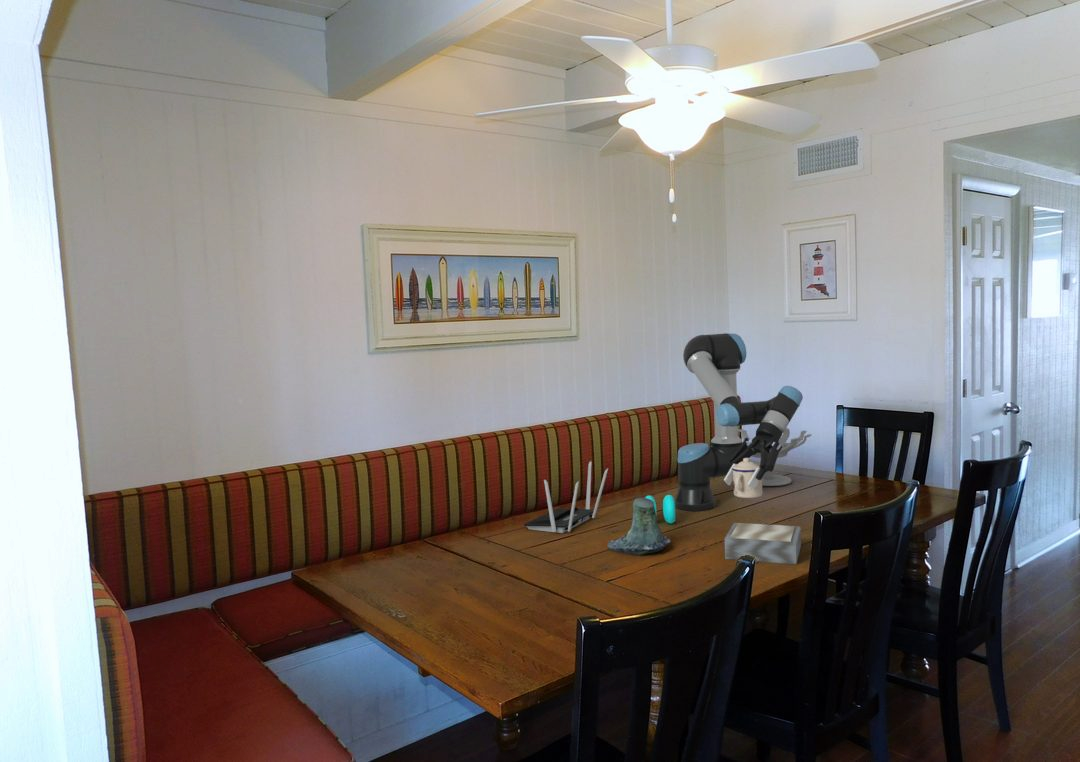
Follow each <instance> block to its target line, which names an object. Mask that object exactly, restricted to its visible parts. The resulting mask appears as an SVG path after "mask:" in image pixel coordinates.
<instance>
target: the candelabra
mask: <svg viewBox="0 0 1080 762" xmlns="http://www.w3.org/2000/svg"><path fill="white" fill-rule="evenodd" d="M807 432H808V431H807V430H805V429H804V430H802V431H800V435H799V437H793V438H791V439H790V442H787V440H788V439H789V438H790V434H791V432H790V428H788V427H786V429H785V431H784V432H783V433H782V436H781V438H780V439H779V441H778V442H779V443H780V444H781V446H782V449H781V450H780V452H779V454H778V457H777V459H780V458H784V457H786V456H788V453H789V452H791V451H792V450H794V449H796V448H798V447H801V446H802V445H804V444H805V443H806V441H807V438H810V437H811V436H812V434H811V433H810V434H809V433H808V434H806V433H807ZM738 433H741V435H740V436H741V438H742V440H744V439H745V438H748V439H749V440H752V438H750V437H749V436H748V433H747V430H745V429H739V428H738ZM805 434H806V435H805ZM751 449H752V450H753V448H751ZM753 451H754V450H753ZM770 451H771V449H770ZM751 457H753V458H758V459H761V453H756V454H755V455H752V456H751ZM773 471H774V470H773ZM773 471H772V472H770V471H767V472H766V473H765V474H764V476H763V477H762V487H781V486H786V485H789V484H791V483H792V482H793V480H792V478H791V477H789V476H787V475H780V474H773Z"/></svg>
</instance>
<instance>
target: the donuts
mask: <svg viewBox="0 0 1080 762" xmlns="http://www.w3.org/2000/svg"><path fill="white" fill-rule="evenodd" d="M644 498H647V499H650V500H652V501H653V502H654V508H655V513H656V514H657V504H656V500H655V498H654V497H653V496H652V495H646V496H644ZM662 510H663V512H662V513H663V518H664V521H666V523H667V524H674V522H676V507H675V498H674V496H673V495H672V494H667V495H665V496H664V498H663V500H662Z"/></svg>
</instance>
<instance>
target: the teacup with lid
mask: <svg viewBox="0 0 1080 762" xmlns="http://www.w3.org/2000/svg"><path fill="white" fill-rule="evenodd" d="M759 466H760V463H759V464H758V463H756V462H754V461H751V458H744V459H743V461H742V462H740V463H738V464H736V465H734V466H733V467H732V470H733V481H732V483H733V495H734V496H735V497H738V498H743V499H753V498H759V497H761V496H763V486H762V479H761V480H759V482H758V484H757V485H756V487H755V489H754V490H752V489H751V488H750V487H749V486H748V485H747V484H748V482H749V481H750V479H751V477H752V475H753V474H754V472H755V470H756V469H757V467H758V468H760V467H759Z"/></svg>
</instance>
